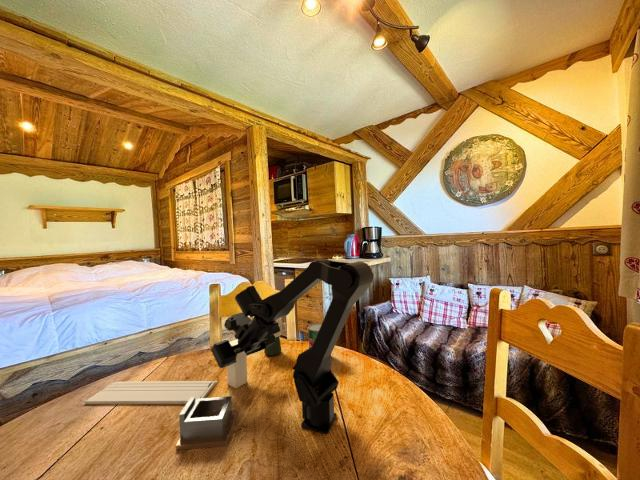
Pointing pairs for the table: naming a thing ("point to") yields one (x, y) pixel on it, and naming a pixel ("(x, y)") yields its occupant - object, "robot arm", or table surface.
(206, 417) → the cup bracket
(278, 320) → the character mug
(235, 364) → the cream rectangular block
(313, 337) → the canned tomato
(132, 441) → the table surface
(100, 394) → the baseboard molding
